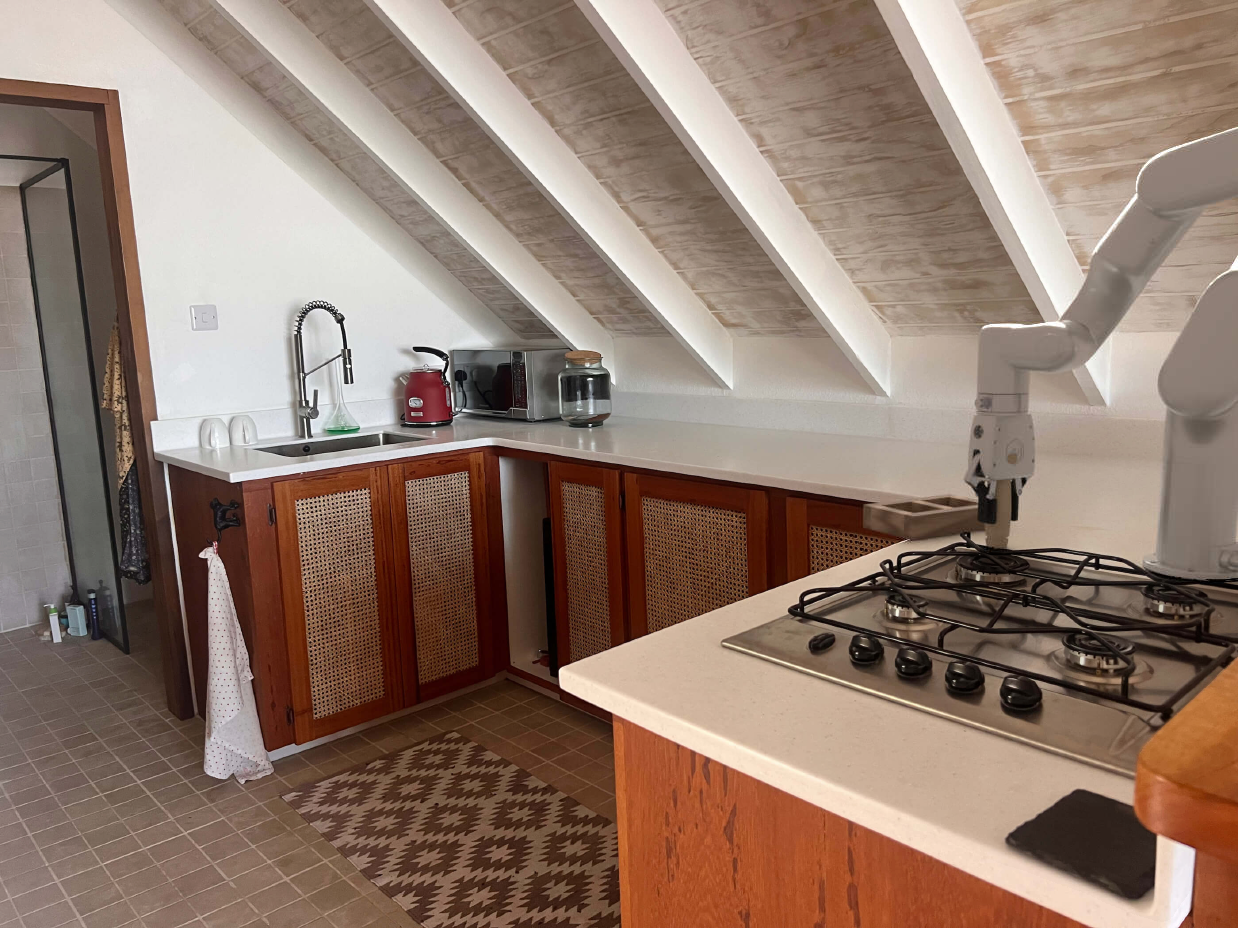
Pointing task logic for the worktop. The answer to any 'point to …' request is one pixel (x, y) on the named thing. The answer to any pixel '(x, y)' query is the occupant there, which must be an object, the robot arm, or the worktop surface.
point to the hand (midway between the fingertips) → (997, 520)
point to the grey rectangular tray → (923, 517)
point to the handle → (1001, 512)
